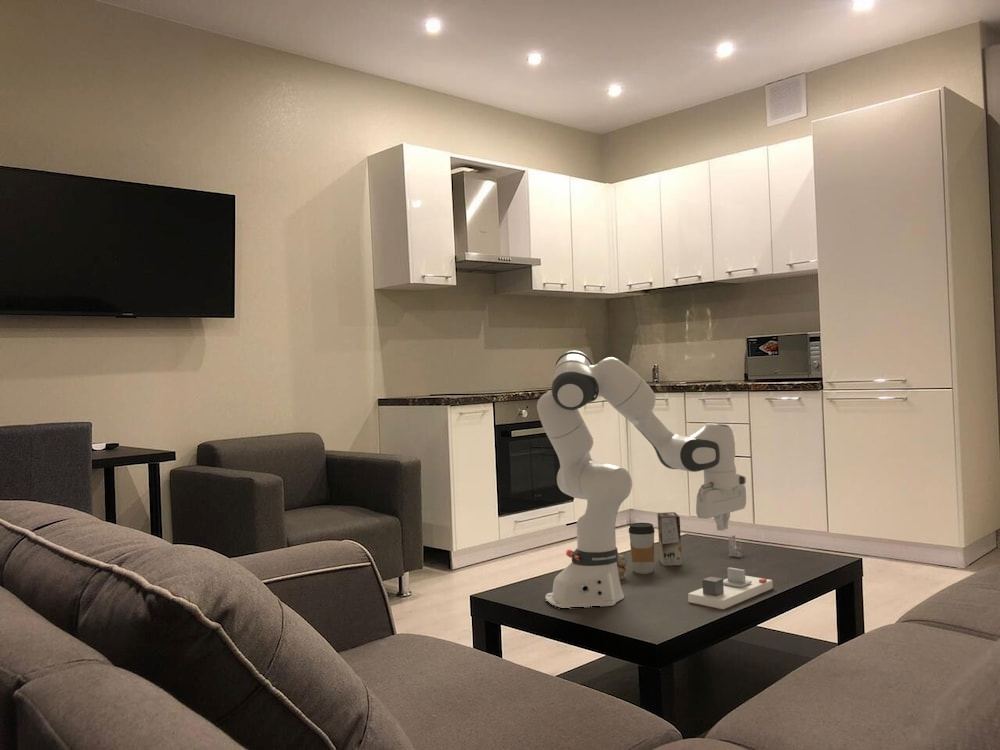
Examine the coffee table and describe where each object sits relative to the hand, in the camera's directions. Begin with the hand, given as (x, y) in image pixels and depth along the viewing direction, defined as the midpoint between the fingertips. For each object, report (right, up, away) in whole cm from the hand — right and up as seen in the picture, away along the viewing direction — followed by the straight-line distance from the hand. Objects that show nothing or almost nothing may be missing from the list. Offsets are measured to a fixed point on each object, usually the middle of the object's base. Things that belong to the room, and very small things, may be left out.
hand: (722, 529), depth 227 cm
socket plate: (+3, -19, +2) cm, 19 cm away
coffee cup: (-16, -20, +33) cm, 42 cm away
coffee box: (-5, -19, +43) cm, 48 cm away
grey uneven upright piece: (+23, -19, +50) cm, 58 cm away
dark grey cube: (-4, -17, -4) cm, 18 cm away
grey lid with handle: (+5, -16, +4) cm, 18 cm away
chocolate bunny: (-27, -21, +26) cm, 43 cm away
